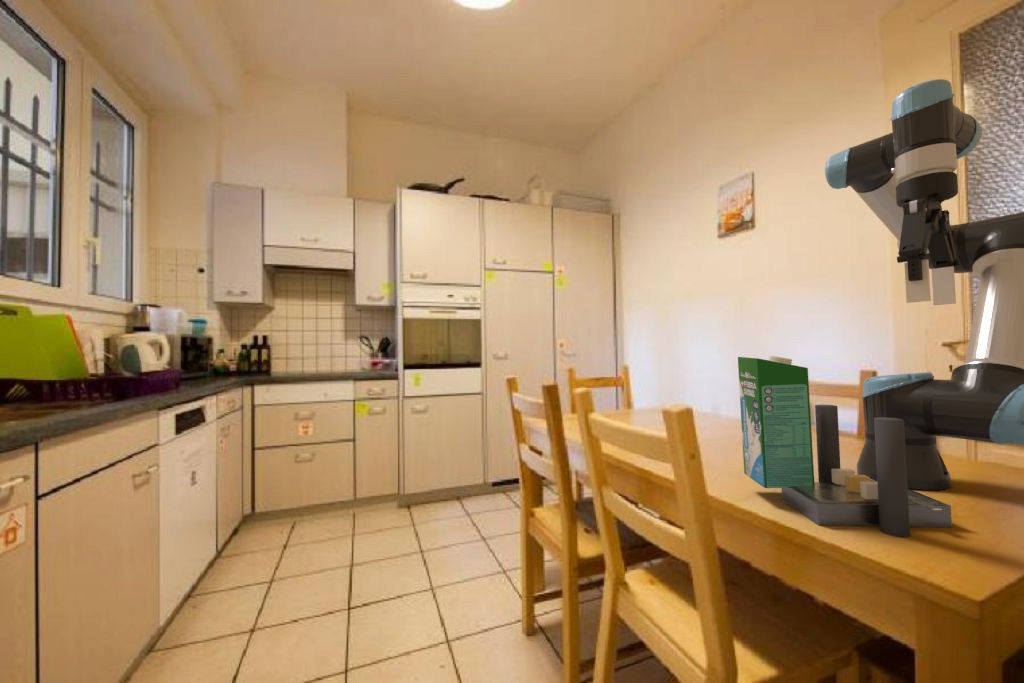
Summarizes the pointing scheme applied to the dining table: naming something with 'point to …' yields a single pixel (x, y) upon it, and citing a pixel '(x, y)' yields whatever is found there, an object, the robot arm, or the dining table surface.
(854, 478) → the tan wooden block
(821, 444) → the post
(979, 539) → the dining table surface
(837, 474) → the grey small block
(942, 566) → the dining table surface
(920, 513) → the breaker panel
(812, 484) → the milk carton
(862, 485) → the beige rectangular block
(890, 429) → the post
